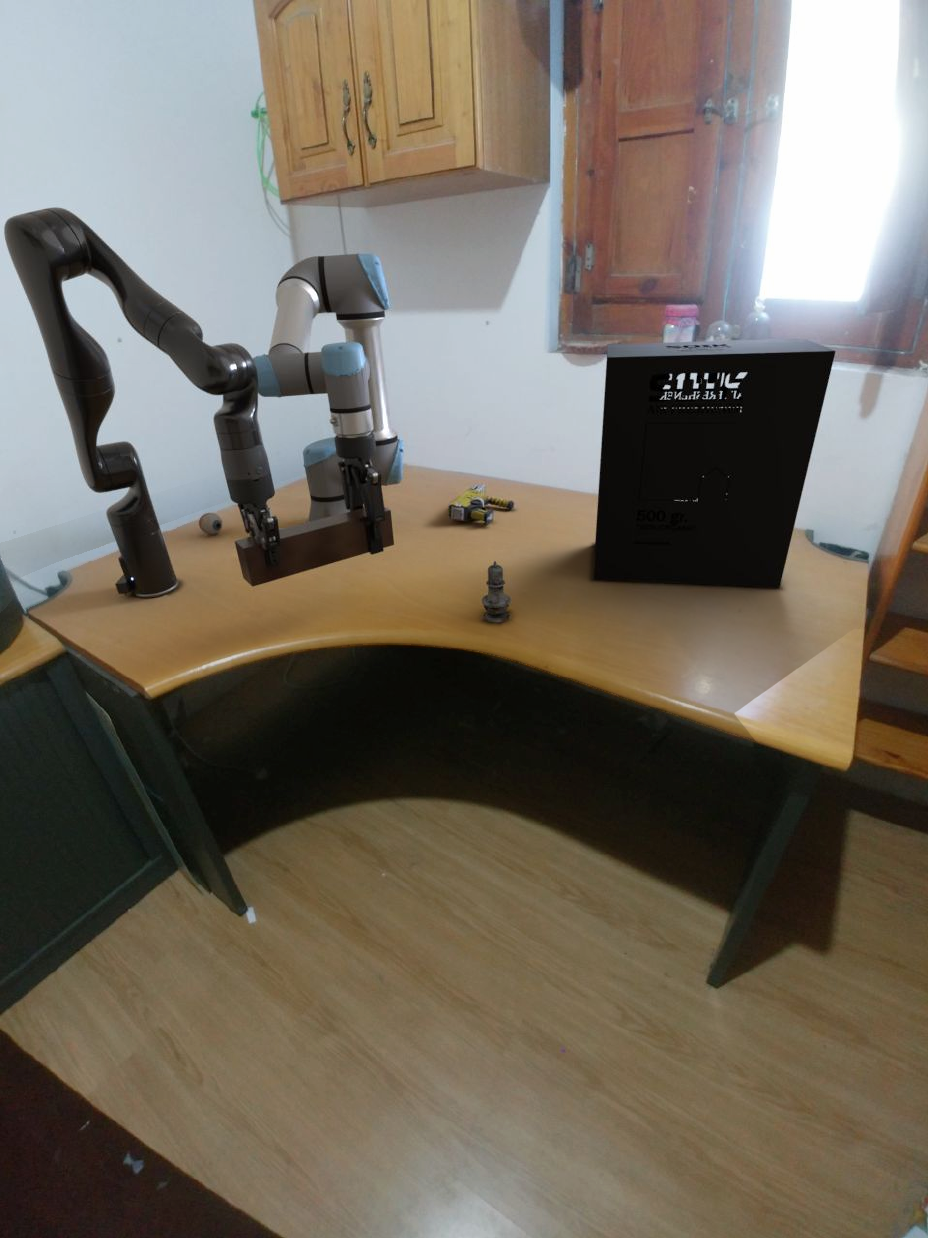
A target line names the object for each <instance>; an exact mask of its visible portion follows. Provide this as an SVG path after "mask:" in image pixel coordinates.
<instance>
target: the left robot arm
mask: <svg viewBox="0 0 928 1238" xmlns="http://www.w3.org/2000/svg"><path fill="white" fill-rule="evenodd" d="M3 235H4V240H5V244H6V247H7V251H8V254H9V257H10V260H11V262H12V264H13V267H14V269H15V271H16V274H17V276H18V279H19V281H20V283H21V285H22V289H23V291H24V293H25V296H26V298H27V300H28V303H29V305H30V307H31V310H32V312H33V316H34V318H35V321H36V324H37V326H38V329H39V332H40V335H41V338H42V342H43V345H44V348H45V351H46V354H47V359H48V362H49V366H50V370H51V373H52V375H53V379H54V382H55V385H56V388H57V390H58V391H57V392H58V393H59V396H60V399H61V402H62V405H63V407H64V410H65V413H66V416H67V420H68V422H69V427H70V430H71V434H72V438H73V442H74V447H75V451H76V455H77V459H78V460H77V461H78V464H79V467H80V471H81V474H82V478H83V479H84V482H85V483H86V486H88V488H89V490H91V491H93V492H95V493H98V494H102V493H110V492H114V491H119V490H123V489H128V491H127V492H126V494H125V495H124V496H123V497H121V499H119V500H118V501H117V502H114V503H113V504H112V505H110V506H108V508H107V509H106V512H105V514H106V518H107V522H108V524H109V526H110V529H111V532H112V535H113V537H114V540H115V542H116V546H117V548H118V551H119V553H120V555H119V557H118V558H117V560H118V563H119V565H120V569H121V571H122V573H123V574H122V575H121V576H120V577H119V579H118V580H117V581H116V582H115V584H114V586H115V587H116V590H117V593H118V595H125V596H127V595H128V594H130V595H131V597H133V598H134V597H138V598H140V599H151V598H157V597H162V596H164V595H167V594H169V593H172V592H173V591H175V590H176V589H177V588H178V587H179V581H178V579H177V576H176V573H175V570H174V566H173V564H172V561H171V556H170V554H169V551H168V548H167V544H166V542H165V538H164V535H163V533H162V529H161V526H160V523H159V520H158V518H157V514H156V511H155V508H154V505H153V501H152V498H151V495H150V492H149V489H148V485H147V481H146V477H145V473H144V469H143V466H142V462H141V458H140V456H139V454H138V451H137V450H136V448H135V447H134V445H133V444H132V443H131V442H129V441H127V440H126V441H125V440H124V441H123V440H122V441H116V442H110V443H103V444H99V445H97V444H98V435H99V432H100V428H101V426H102V424H103V422H104V421H105V419H106V417H107V415H108V413H109V411H110V408H111V407H112V404H113V402H114V399H115V395H116V385H115V381H114V377H113V371H112V368H111V367H112V366H111V364H110V360H109V357H108V354H107V353H106V351H105V349H104V348H103V347H102V345H101V344H100V343H99V342H98V341H97V340H96V339H95V337H93V336H92V335H91V334H90V333H89V331H87V330H86V329H85V328H84V327H83V326H82V325H80V323H79V322H78V321H77V320H76V319H75V318H74V317H73V315H72V313H71V311H70V308H69V306H68V304H67V301H66V298H65V294H64V290H63V283H64V282H66V281H69V280H73V279H76V278H79V277H82V276H85V275H89V276H91V277H93V278H94V279H96V280H98V281H100V282H101V283H103V284H104V285H106V286H107V287H108V288H109V289H110V290H111V292H112V293H113V296H114V297H115V299H116V302H117V304H118V306H119V309H120V310H121V313H122V315H123V317H124V318H125V320H126V321H127V323H128V325H130V327H131V328H132V329H133V330H134V331H135V332H136V333H137V334H138V335H139V336H141V337H142V338H143V339H144V340H145V341H147V342H148V343H150V344H151V345H153V346H154V347H155V348H156V349H158V350H159V351H161V352H162V353H164V354H165V355H166V356H168V357H169V358H170V359H171V360H172V362H173V363H174V364H175V366H176V367H177V368H178V369H179V371H181V373H182V374H183V375H184V376H185V377H186V378H187V380H189V382H190V383H191V384H192V385H193V386H194V387H196V388H197V389H199V390H200V391H202V392H204V393H206V394H209V395H211V396H222V404H221V407H220V408H219V409H217V411H216V412H215V413H214V414H213V425H214V426H213V427H214V432H215V435H216V439H217V443H218V447H219V451H220V452H219V453H220V461H221V465H222V469H223V473H224V477H225V481H226V486H227V490H228V494H229V497H230V501H232V503H235V504H237V508H238V510H239V514H240V517H241V521H242V523H243V526H244V530H245V533H246V534H248V535H249V536H248V537H252V536H256V537H258V538H260V541H261V544H262V548H263V550H264V555H265V559H266V563H267V566H268V567H269V568H273V567H277V566H279V565H280V561H279V556H278V552H277V547H278V546H281V542H280V534H279V529H280V528H279V527H280V526H279V519H278V517H277V515H273V512H272V510H271V508H270V507H269V505H268V504H267V502H268V501H269V500H270V499H273V497H274V496H275V495H276V491H275V485H274V482H273V477H272V472H271V471H272V470H271V466H270V462H269V458H268V454H267V451H266V449H265V445H264V442H263V441H264V440H263V437H262V432H261V427H260V422H259V420H258V419H259V418H258V411H259V393H258V375H257V369H256V366H255V363H254V361H253V357H252V355H251V354H250V352H249V351H248V350H247V349H246V348H245V347H244V346H243V345H240V344H239V343H235V342H226V343H221V344H215V345H210V344H208V343H206V342H204V333H203V328H202V327H201V325H200V324H199V323H198V322H197V321H196V320H195V319H194V318H193V317H191V316H190V315H188V314H187V313H186V312H185V311H183V310H182V309H180V308H179V307H178V306H176V305H175V304H174V303H172V302H171V301H169V300H168V299H167V298H165V297H164V296H163V295H162V294H161V293H159V292H158V291H157V290H155V289H154V288H153V287H151V285H149V284H148V283H147V282H146V281H145V280H144V279H142V278H141V276H140V275H139V274H138V273H136V271H135V270H134V269H132V268H131V266H130V265H128V263H126V261H124V259H122V257H121V256H120V255H119V254H117V252H116V251H115V250H113V248H111V247H110V246H109V245H108V243H106V242H105V241H104V239H103V238H101V237H100V236H99V235H98V233H97V232H95V231H94V230H93V228H91V227H90V226H89V225H88V224H87V223H86V222H85V221H83V220H82V219H81V218H80V217H78V216H77V215H76V214H75V213H73V212H71V211H70V210H68V209H66V208H63V207H58V206H57V207H47V208H42V209H37V210H33V211H28V212H24V213H20V214H17V215H14V216H11V217H9V218H7V220H6V221H5V224H4V228H3ZM269 538H271V539H272V541H269Z"/></svg>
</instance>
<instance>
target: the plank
mask: <svg viewBox="0 0 928 1238" xmlns="http://www.w3.org/2000/svg"><path fill="white" fill-rule="evenodd" d="M384 509H385V517H386V520H385V521H382V522H380V527H381V534H382V542H383V549H385V548H388V547H391V546H394V545H395V540H394V530H393V529H394V528H393V519H392V510H391V509H389V508H387V507H385V506H384ZM365 522H368V520H367V516H366V512H365V508H362V509H358V510H354V511H351V512H347V513H343V514H339V515H335V516H331V517H327V518H323V519H319V520H315V521H311V522H308V521H307V522H303V523H299V524H296V525H291V526H288V527H284V528H279V534H280V542H281V546H278V547H277V552H278V556H279V561H280V565H279V566H277V567H273V568H269V567H268V566H267V563H266V559H265V555H264V550H263V548H262V544H261V541H260V538H258V537H256V536H252V537H249V536H248V537H244V538H240V539H236V540H234V545H235V549H236V554H237V557H238V558H237V559H238V562H239V566H240V569H241V574H242V578H243V580H245V581H246V582H247V583H248V584H249V586H251V587H256V586H260V585H263V584H267V583H270V582H273V581H276V580H281V579H284V578H286V577H290V576H294V575H298V574H301V573H304V572H307V571H311V570H314V569H318V568H321V567H324V566H327V565H331V564H334V563H337V562H341V561H344V560H348V559H351V558H355V557H358V556H362V555H365V554H368V553H370V548H369V541H368V534H367V528H366V525H365ZM269 541H272V539H271V538H269Z"/></svg>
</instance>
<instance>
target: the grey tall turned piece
mask: <svg viewBox="0 0 928 1238" xmlns="http://www.w3.org/2000/svg"><path fill="white" fill-rule="evenodd" d="M485 585H487V594H486V595H484V596H482V598H481V601H480V603H481V604H482V606H483V609H484V611H485V612H484V613H483V619H484V620H485V621H486V622H489V623H502V622H503V623H504V622H505V621H507V620H509V619H510V617H511V614H510V612H509V611H507V610H508V609H509V607H510V604H511V602H512V599H511V598H512V597H510V596H509V595H507V594H505V592H504V586H505V585H506V582H505V580H504V569H503V567H502V566H501V565H500V564H498V562H497V561H496V560H494V561H493V563H492V564H491V565H490V566H488V568H487V581H486V583H485Z"/></svg>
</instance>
